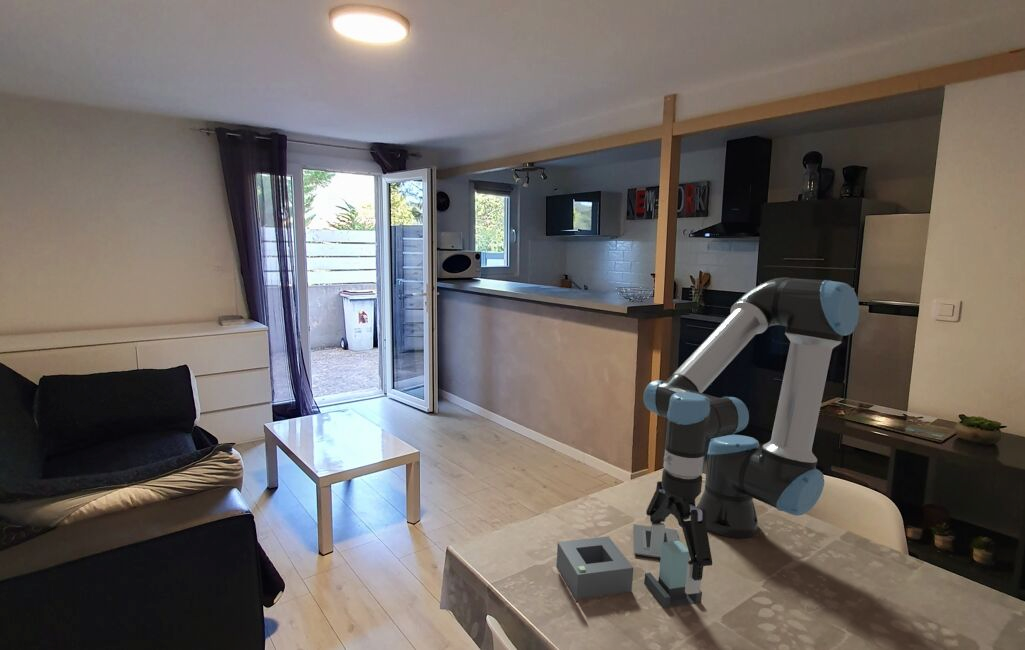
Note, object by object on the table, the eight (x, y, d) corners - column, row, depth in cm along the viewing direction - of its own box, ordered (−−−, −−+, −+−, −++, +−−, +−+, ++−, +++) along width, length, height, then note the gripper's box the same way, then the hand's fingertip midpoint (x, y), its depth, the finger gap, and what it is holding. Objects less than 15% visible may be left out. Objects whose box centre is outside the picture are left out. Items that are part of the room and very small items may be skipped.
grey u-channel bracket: (679, 581, 114) (680, 568, 114) (701, 606, 107) (702, 592, 106) (643, 586, 112) (644, 573, 112) (663, 611, 104) (664, 597, 104)
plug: (675, 585, 112) (679, 540, 110) (686, 597, 108) (690, 551, 106) (657, 587, 111) (661, 542, 109) (668, 600, 107) (672, 553, 105)
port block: (606, 561, 121) (608, 534, 120) (631, 594, 109) (633, 565, 108) (556, 567, 118) (557, 540, 117) (576, 602, 106) (577, 572, 105)
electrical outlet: (681, 568, 120) (682, 558, 119) (633, 561, 122) (634, 551, 122) (676, 537, 133) (677, 528, 132) (632, 531, 135) (633, 523, 134)
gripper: (635, 449, 116) (628, 540, 119) (703, 502, 93) (691, 614, 96) (666, 447, 118) (658, 537, 121) (740, 499, 94) (728, 609, 97)
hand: (672, 571), depth 108 cm, fingers open, 13 cm apart
